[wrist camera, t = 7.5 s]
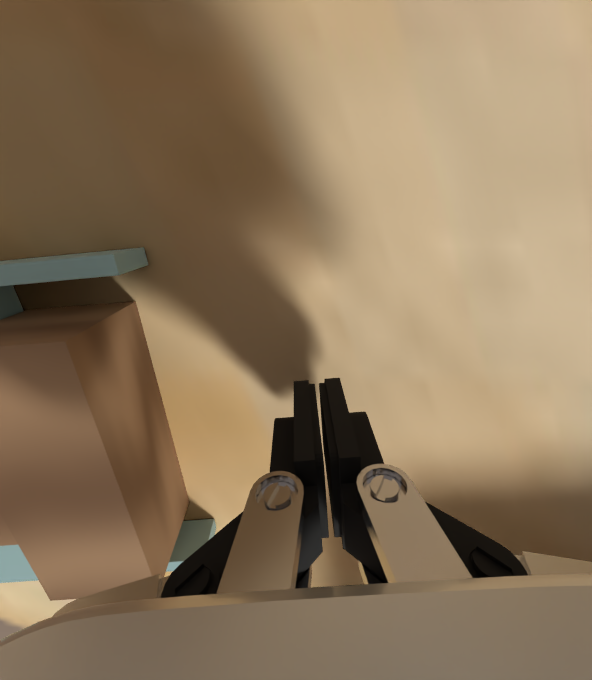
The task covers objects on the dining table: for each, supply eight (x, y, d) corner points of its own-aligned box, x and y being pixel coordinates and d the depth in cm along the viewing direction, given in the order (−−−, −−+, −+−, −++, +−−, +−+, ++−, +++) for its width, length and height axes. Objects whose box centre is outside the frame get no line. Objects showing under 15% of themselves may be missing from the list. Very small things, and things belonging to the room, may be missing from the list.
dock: (-191, 279, 11) (-288, 292, 9) (143, 247, 11) (112, 253, 9) (-16, 543, 16) (-56, 586, 14) (216, 527, 16) (205, 568, 14)
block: (-106, 320, 12) (-289, 368, 8) (136, 300, 12) (65, 341, 8) (6, 514, 15) (-84, 610, 12) (189, 501, 15) (158, 592, 12)
